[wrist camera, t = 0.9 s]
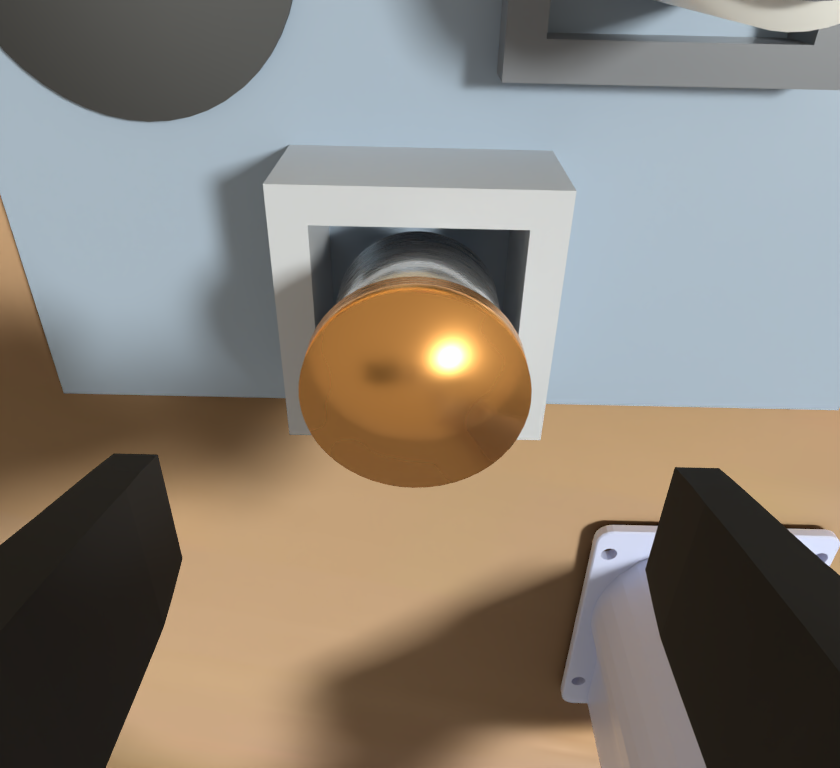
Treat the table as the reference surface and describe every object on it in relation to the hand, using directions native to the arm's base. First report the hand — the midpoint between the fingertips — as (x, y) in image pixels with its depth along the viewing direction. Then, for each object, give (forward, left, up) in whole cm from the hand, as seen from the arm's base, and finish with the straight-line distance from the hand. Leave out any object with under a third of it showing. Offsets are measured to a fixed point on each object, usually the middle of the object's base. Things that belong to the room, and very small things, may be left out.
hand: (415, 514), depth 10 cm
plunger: (0, 0, -7) cm, 7 cm away
